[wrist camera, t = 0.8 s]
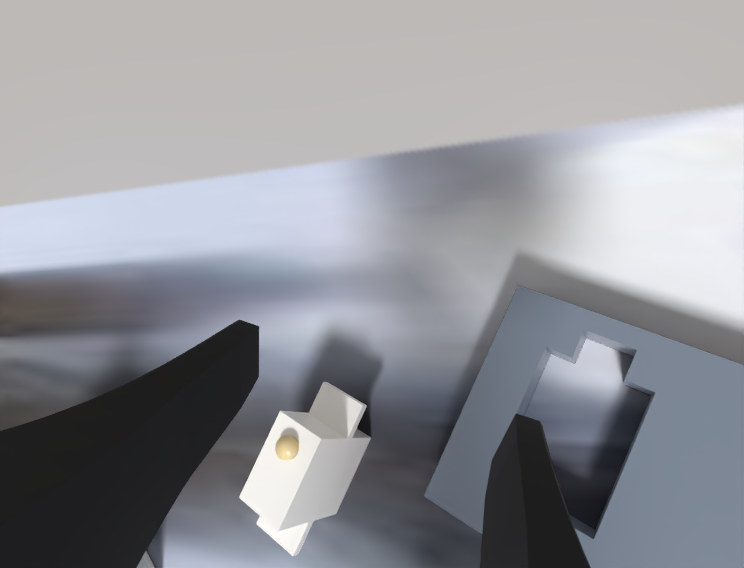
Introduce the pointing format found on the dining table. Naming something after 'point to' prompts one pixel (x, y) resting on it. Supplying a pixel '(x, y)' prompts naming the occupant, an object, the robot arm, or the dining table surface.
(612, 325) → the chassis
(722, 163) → the dining table surface
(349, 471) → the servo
